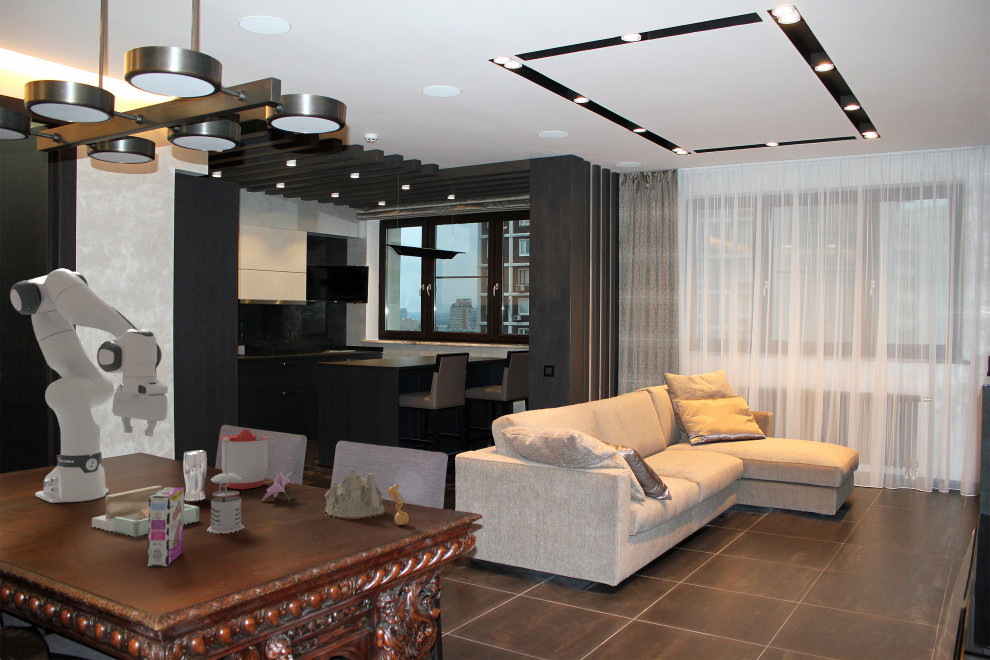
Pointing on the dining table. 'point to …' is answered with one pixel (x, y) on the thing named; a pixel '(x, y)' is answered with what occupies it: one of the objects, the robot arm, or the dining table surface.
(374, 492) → the castle model
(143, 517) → the terracotta tile
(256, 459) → the citrus juicer
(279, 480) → the lily
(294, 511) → the dining table surface
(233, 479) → the french press
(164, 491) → the candy bar box
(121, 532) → the box
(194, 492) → the beer glass
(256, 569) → the dining table surface
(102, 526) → the plate
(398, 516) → the figurine
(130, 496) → the bar
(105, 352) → the robot arm
